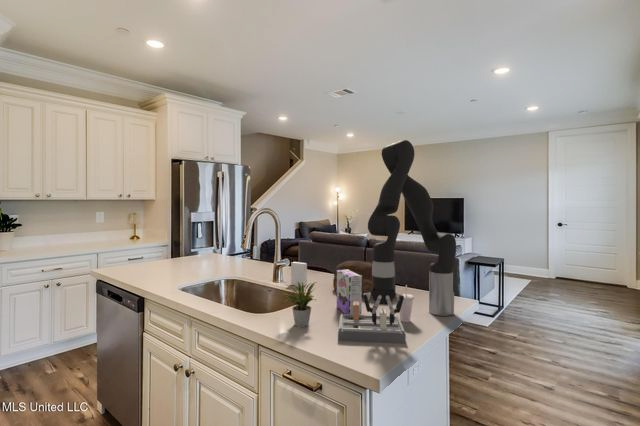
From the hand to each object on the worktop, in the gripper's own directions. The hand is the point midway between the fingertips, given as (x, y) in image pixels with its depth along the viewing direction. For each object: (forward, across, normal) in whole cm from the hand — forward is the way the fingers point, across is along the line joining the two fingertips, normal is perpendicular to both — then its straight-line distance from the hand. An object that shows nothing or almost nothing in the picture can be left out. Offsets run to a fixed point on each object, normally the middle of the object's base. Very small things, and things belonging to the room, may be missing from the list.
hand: (382, 323), depth 119 cm
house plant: (+5, +29, -11) cm, 31 cm away
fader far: (+1, +9, -8) cm, 12 cm away
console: (+5, +4, -4) cm, 7 cm away
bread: (+5, +5, -59) cm, 60 cm away
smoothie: (+5, -10, -18) cm, 21 cm away
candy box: (+5, +12, -27) cm, 30 cm away
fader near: (+1, 0, 0) cm, 1 cm away
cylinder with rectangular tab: (+5, +40, -71) cm, 82 cm away
